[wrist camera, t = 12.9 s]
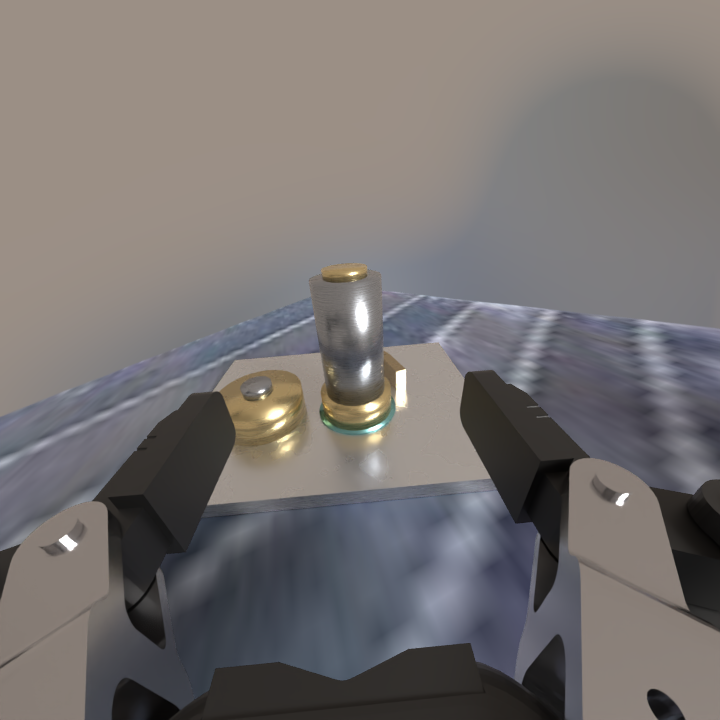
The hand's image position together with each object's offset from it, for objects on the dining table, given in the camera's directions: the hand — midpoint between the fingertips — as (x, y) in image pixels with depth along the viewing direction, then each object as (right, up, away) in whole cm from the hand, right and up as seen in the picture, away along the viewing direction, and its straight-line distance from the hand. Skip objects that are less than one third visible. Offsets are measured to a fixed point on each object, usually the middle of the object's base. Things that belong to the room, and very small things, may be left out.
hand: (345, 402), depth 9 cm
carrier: (-2, -3, +16) cm, 17 cm away
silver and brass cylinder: (0, -3, +14) cm, 15 cm away
